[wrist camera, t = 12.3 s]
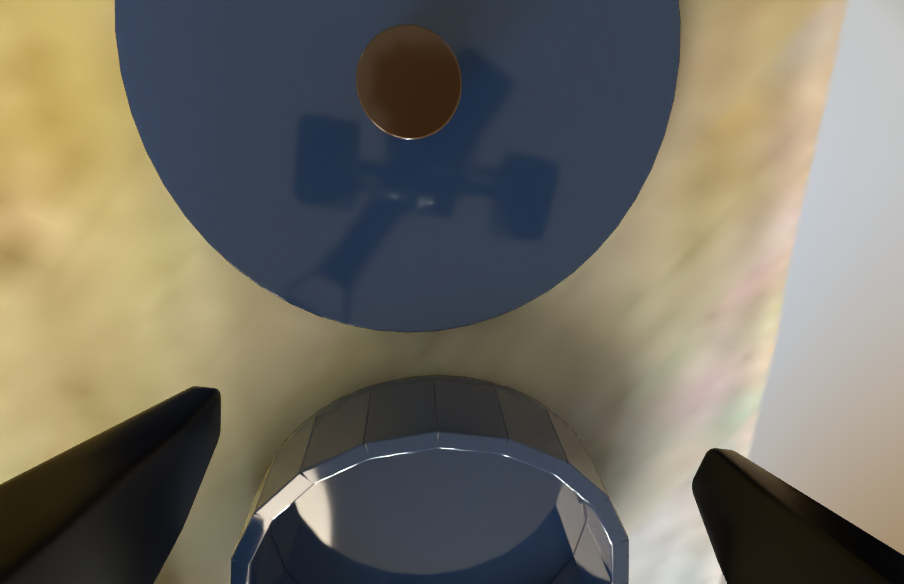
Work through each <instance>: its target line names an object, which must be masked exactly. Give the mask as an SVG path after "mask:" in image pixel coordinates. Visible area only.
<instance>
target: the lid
mask: <svg viewBox="0 0 904 584" xmlns="http://www.w3.org/2000/svg"><path fill="white" fill-rule="evenodd" d="M115 33H116V40H117V48H118V55H119V63H120V70H121V75H122V79H123V83H124V87H125V91H126V95H127V98H128V102H129V106H130V110H131V114H132V116H133V119H134V121H135V124H136V126H137V129H138V132H139V134H140V137H141V139H142V142H143V145H144V147H145V150H146V152H147V154H148V156H149V157H150V159H151V161H152V163H153V165H154V167H155V169H156V171H157V173H158V175H159V177H160V178H161V180H162V182H163V184H164V186H165V187H166V189H167V190H168V192H169V193H170V195H171V196H172V197H173V199H174V200H175V202H176V203H177V205H178V206H179V208H180V209H181V211H182V212H183V214H184V215H185V216H186V218H187V219H188V220H189V221H190V222H191V223H192V225H193V226H194V227H195V228H196V229H197V230H198V232H199V233H200V234H201V235H202V236H203V237H204V239H205V240H206V241H207V242H208V243H209V244H210V245H211V246H212V247H213V248H214V249H215V250H216V251H217V252H219V253H220V254H221V255H222V256H223V257H224V258H225V259H226V260H227V261H228V262H229V263H230V264H231V265H233V266H234V267H235V268H236V269H238V270H239V271H240V272H242V273H243V274H244V275H246V276H247V277H248V278H250V279H251V280H252V281H254V282H255V283H256V284H258V285H259V286H261V287H262V288H264V289H266V290H267V291H269V292H271V293H272V294H274V295H276V296H278V297H279V298H281V299H283V300H285V301H286V302H288V303H290V304H292V305H295V306H297V307H299V308H301V309H304V310H306V311H308V312H311V313H313V314H315V315H318V316H320V317H324V318H327V319H330V320H333V321H337V322H340V323H343V324H347V325H351V326H356V327H362V328H367V329H373V330H379V331H394V332H425V331H440V330H445V329H451V328H457V327H463V326H468V325H471V324H475V323H478V322H482V321H485V320H488V319H492V318H495V317H497V316H500V315H502V314H504V313H507V312H509V311H511V310H514V309H516V308H519V307H521V306H523V305H525V304H526V303H528V302H530V301H532V300H534V299H535V298H537V297H539V296H541V295H542V294H544V293H546V292H548V291H549V290H550V289H552V288H553V287H555V286H556V285H557V284H559V283H560V282H561V281H563V280H564V279H565V278H567V277H568V276H569V275H571V274H572V273H573V272H575V271H576V270H577V269H578V268H579V267H580V266H581V265H582V264H583V263H584V262H585V261H586V260H587V259H588V258H590V257H591V256H592V255H593V254H594V253H595V252H596V251H597V250H598V249H599V247H600V246H601V245H602V244H603V243H604V242H605V240H606V239H607V238H608V237H609V236H610V235H611V233H612V232H613V231H614V230H615V229H616V228H617V226H618V225H619V223H620V222H621V220H622V219H623V217H624V216H625V214H626V213H627V211H628V210H629V209H630V207H631V206H632V204H633V203H634V201H635V200H636V198H637V196H638V194H639V192H640V190H641V188H642V186H643V184H644V182H645V181H646V179H647V177H648V175H649V173H650V171H651V169H652V167H653V164H654V161H655V159H656V156H657V154H658V151H659V148H660V146H661V143H662V141H663V138H664V136H665V132H666V128H667V124H668V120H669V116H670V113H671V109H672V105H673V101H674V96H675V89H676V82H677V75H678V68H679V57H680V11H679V0H115Z"/></svg>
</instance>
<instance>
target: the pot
mask: <svg viewBox="0 0 904 584" xmlns="http://www.w3.org/2000/svg"><path fill="white" fill-rule="evenodd" d="M628 581H629V539H628V535H627V533H626V531H625V529H624V527H623V525H622V523H621V520H620V518H619V516H618V514H617V512H616V510H615V508H614V506H613V504H612V502H611V499H610V497H609V495H608V493H607V491H606V489H605V487H604V485H603V483H602V481H601V479H600V477H599V475H598V473H597V471H596V468H595V466H594V464H593V462H592V460H591V458H590V456H589V454H588V452H587V450H586V448H585V446H584V444H583V442H582V441H581V440H580V439H579V438H578V436H577V435H576V434H575V433H574V432H573V430H572V429H571V428H570V427H569V426H568V425H567V424H566V422H565V421H563V420H562V419H561V418H560V417H559V416H557V415H556V414H555V413H554V412H553V411H551V410H550V409H549V408H547V407H546V406H544V405H543V404H541V403H539V402H538V401H536V400H534V399H533V398H531V397H529V396H527V395H525V394H522V393H520V392H518V391H516V390H513V389H511V388H508V387H505V386H502V385H498V384H495V383H492V382H488V381H483V380H478V379H472V378H466V377H454V376H423V377H410V378H404V379H399V380H393V381H387V382H384V383H380V384H377V385H374V386H370V387H367V388H363V389H361V390H359V391H356V392H354V393H352V394H349V395H347V396H344V397H342V398H340V399H338V400H337V401H335V402H333V403H331V404H330V405H328V406H326V407H324V408H323V409H321V410H320V411H318V412H317V413H316V414H314V415H313V416H312V417H310V418H309V419H308V420H307V421H305V422H304V423H303V424H302V425H301V426H300V427H299V428H298V429H297V430H296V431H295V432H294V433H293V434H292V435H291V436H290V437H289V438H288V439H287V440H286V441H285V443H284V444H283V445H282V447H281V448H280V449H279V451H278V452H277V453H276V455H275V457H274V458H273V460H272V462H271V464H270V466H269V468H268V470H267V472H266V474H265V477H264V479H263V481H262V483H261V485H260V487H259V489H258V491H257V493H256V496H255V498H254V501H253V504H252V506H251V509H250V511H249V514H248V516H247V519H246V521H245V524H244V526H243V529H242V531H241V534H240V537H239V539H238V542H237V544H236V547H235V549H234V552H233V554H232V557H231V584H628Z"/></svg>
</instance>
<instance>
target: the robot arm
mask: <svg viewBox="0 0 904 584" xmlns="http://www.w3.org/2000/svg"><path fill="white" fill-rule="evenodd" d="M220 428H221V395H220V391H219V390H218V389H216V388H208V387H199V386H193V387H191V388H188V389H186V390H184V391H182V392H181V393H179V394H177V395H175V396H173V397H171V398H169V399H167V400H165V401H163V402H161V403H159V404H157V405H155V406H153V407H151V408H149V409H147V410H145V411H143V412H141V413H139V414H137V415H135V416H134V417H132V418H130V419H128V420H126V421H124V422H122V423H120V424H118V425H116V426H114V427H112V428H110V429H108V430H106V431H104V432H102V433H100V434H98V435H96V436H94V437H92V438H90V439H88V440H87V441H85V442H83V443H81V444H79V445H77V446H75V447H73V448H71V449H69V450H67V451H65V452H63V453H61V454H59V455H57V456H55V457H53V458H51V459H49V460H47V461H45V462H43V463H41V464H39V465H38V466H36V467H34V468H32V469H30V470H28V471H26V472H24V473H22V474H20V475H18V476H16V477H14V478H12V479H10V480H8V481H6V482H4V483H2V484H0V584H154V582H155V580H156V578H157V576H158V574H159V572H160V570H161V569H162V567H163V565H164V563H165V561H166V559H167V557H168V556H169V554H170V552H171V550H172V548H173V546H174V544H175V543H176V541H177V539H178V537H179V535H180V533H181V531H182V529H183V526H184V524H185V522H186V519H187V517H188V515H189V512H190V510H191V507H192V505H193V502H194V500H195V497H196V495H197V492H198V490H199V487H200V485H201V482H202V480H203V477H204V475H205V472H206V470H207V467H208V465H209V463H210V460H211V458H212V455H213V453H214V450H215V448H216V445H217V442H218V439H219V435H220ZM692 490H693V495H694V497H695V500H696V503H697V506H698V508H699V511H700V514H701V517H702V519H703V522H704V525H705V527H706V530H707V533H708V536H709V538H710V541H711V544H712V546H713V549H714V552H715V555H716V557H717V560H718V563H719V565H720V568H721V570H722V573H723V575H724V577H725V580H726V581H727V584H904V555H902V554H901V553H899V552H897V551H896V550H894V549H892V548H891V547H889V546H888V545H886V544H884V543H883V542H881V541H879V540H878V539H876V538H874V537H873V536H871V535H870V534H868V533H867V532H865V531H863V530H862V529H860V528H858V527H857V526H855V525H854V524H852V523H850V522H849V521H847V520H845V519H844V518H842V517H841V516H839V515H837V514H836V513H834V512H832V511H831V510H829V509H828V508H826V507H824V506H823V505H821V504H820V503H818V502H816V501H815V500H813V499H811V498H810V497H808V496H807V495H805V494H803V493H802V492H800V491H798V490H797V489H795V488H793V487H792V486H790V485H788V484H787V483H785V482H784V481H782V480H781V479H779V478H777V477H776V476H774V475H772V474H771V473H769V472H767V471H766V470H764V469H763V468H761V467H759V466H758V465H756V464H755V463H753V462H751V461H750V460H748V459H747V458H745V457H743V456H742V455H740V454H738V453H737V452H735V451H732V450H727V449H719V448H713V449H710V450H709V451H707V453H706V454H705V456H704V458H703V460H702V462H701V464H700V466H699V468H698V470H697V473H696V475H695V477H694V479H693V482H692Z"/></svg>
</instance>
